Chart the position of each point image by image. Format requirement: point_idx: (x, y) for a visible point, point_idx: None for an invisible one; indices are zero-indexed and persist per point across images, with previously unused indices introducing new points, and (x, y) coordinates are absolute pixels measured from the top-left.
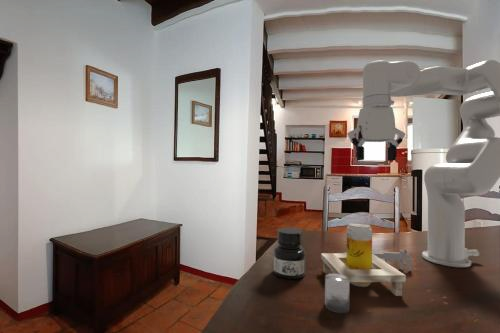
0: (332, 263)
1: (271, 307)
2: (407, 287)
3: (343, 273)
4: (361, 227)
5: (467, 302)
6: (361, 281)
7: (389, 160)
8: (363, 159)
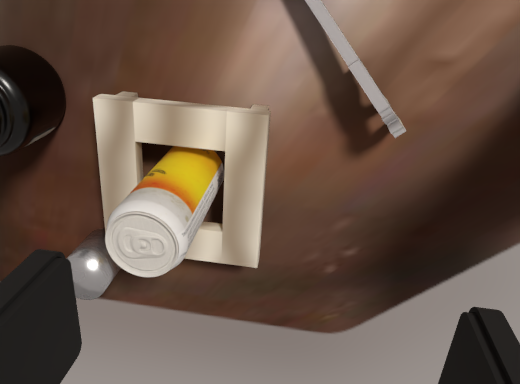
0: (105, 181)
1: None
2: (302, 206)
3: None
4: (134, 274)
5: (378, 275)
6: None
7: (463, 329)
8: (74, 350)
